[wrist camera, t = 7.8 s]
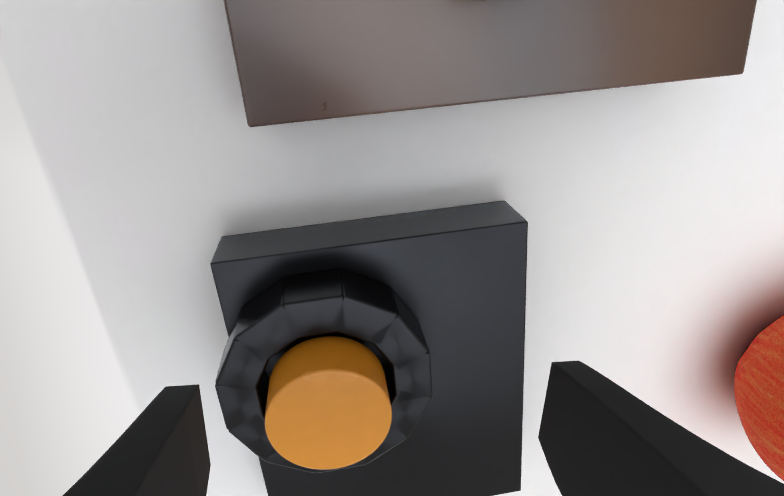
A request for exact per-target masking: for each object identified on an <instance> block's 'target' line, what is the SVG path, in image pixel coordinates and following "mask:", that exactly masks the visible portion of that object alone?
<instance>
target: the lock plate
mask: <svg viewBox="0 0 784 496" xmlns="http://www.w3.org/2000/svg"><path fill="white" fill-rule="evenodd" d="M756 2H757V0H224V4H225V9H226V14H227V20H228V25H229V30H230V35H231V40H232V45H233V50H234V56H235V61H236V66H237V71H238V76H239V81H240V87H241V92H242V97H243V102H244V107H245V112H246V118H247V123H248V126H249V127H257V126H266V125H275V124H284V123H294V122H303V121H312V120H322V119H331V118H340V117H349V116H359V115H368V114H377V113H386V112H396V111H405V110H414V109H424V108H433V107H442V106H451V105H461V104H470V103H479V102H488V101H498V100H507V99H516V98H526V97H535V96H544V95H553V94H563V93H572V92H581V91H590V90H600V89H609V88H618V87H628V86H637V85H646V84H655V83H665V82H674V81H683V80H692V79H702V78H711V77H720V76H730V75H739V74H742V73H743V72H744V66H745V61H746V56H747V50H748V45H749V39H750V34H751V29H752V23H753V18H754V12H755V7H756Z"/></svg>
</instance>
